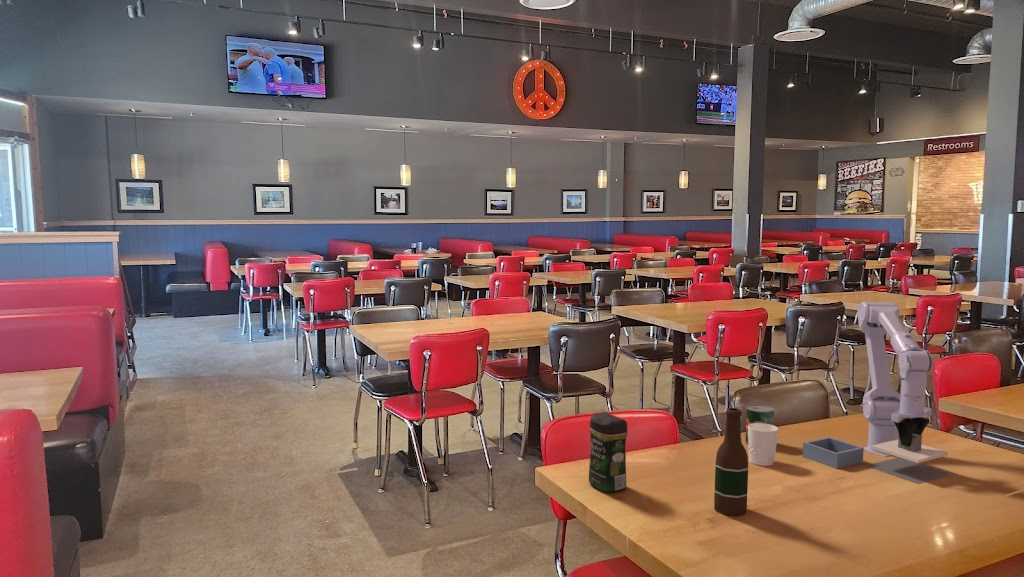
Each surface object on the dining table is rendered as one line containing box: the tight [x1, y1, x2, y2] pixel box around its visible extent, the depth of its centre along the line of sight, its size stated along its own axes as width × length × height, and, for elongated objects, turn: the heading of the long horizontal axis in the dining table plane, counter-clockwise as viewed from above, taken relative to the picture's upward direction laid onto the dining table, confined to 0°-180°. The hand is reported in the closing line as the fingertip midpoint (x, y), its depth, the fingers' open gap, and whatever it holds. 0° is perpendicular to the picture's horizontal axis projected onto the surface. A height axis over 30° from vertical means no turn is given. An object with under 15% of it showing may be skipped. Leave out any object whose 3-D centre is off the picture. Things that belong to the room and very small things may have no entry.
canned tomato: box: [744, 404, 775, 445], centre depth 212 cm, size 8×8×11 cm
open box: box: [802, 436, 865, 470], centre depth 198 cm, size 11×11×4 cm
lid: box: [872, 434, 949, 464], centre depth 189 cm, size 13×13×5 cm
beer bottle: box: [713, 407, 749, 517], centre depth 163 cm, size 8×8×24 cm
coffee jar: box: [588, 411, 628, 493], centre depth 177 cm, size 10×8×19 cm
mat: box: [865, 457, 953, 485], centre depth 190 cm, size 15×15×1 cm
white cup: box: [747, 423, 779, 467], centre depth 196 cm, size 8×8×10 cm
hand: (909, 444), depth 189 cm, fingers closed on lid, 3 cm apart
